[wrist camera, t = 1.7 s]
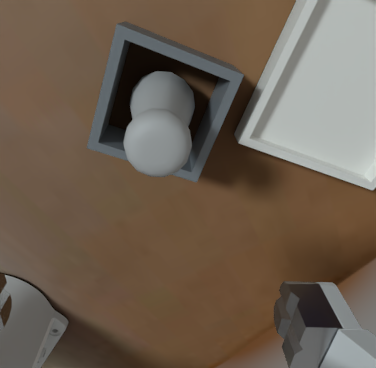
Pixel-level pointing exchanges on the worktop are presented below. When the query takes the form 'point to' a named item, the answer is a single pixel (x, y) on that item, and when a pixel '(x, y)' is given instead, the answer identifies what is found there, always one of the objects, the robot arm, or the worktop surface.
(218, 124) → the hollow square frame
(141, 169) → the salt shaker
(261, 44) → the worktop surface
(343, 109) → the tray
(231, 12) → the worktop surface
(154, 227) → the worktop surface
